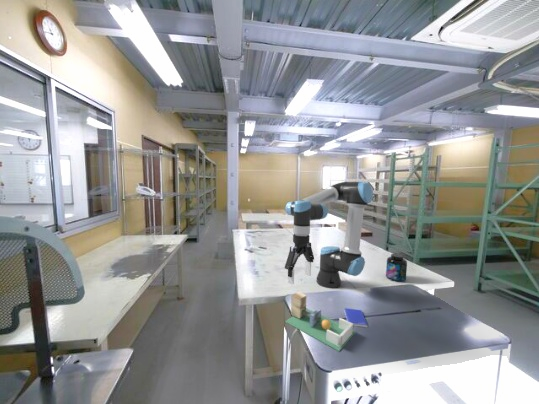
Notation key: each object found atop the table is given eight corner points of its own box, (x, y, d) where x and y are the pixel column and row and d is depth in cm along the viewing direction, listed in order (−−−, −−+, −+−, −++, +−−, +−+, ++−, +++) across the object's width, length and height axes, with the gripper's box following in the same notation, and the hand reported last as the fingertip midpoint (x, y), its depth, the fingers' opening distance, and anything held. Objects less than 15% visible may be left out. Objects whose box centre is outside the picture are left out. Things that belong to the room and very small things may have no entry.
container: (386, 280, 152) (388, 255, 151) (384, 274, 163) (386, 251, 163) (407, 284, 147) (409, 258, 147) (404, 277, 159) (405, 254, 158)
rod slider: (298, 309, 113) (299, 290, 112) (320, 320, 105) (321, 300, 104) (289, 315, 108) (290, 295, 107) (312, 327, 100) (313, 306, 99)
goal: (339, 326, 101) (340, 317, 101) (353, 332, 97) (353, 323, 97) (326, 339, 92) (326, 330, 92) (340, 347, 88) (340, 337, 88)
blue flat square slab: (367, 325, 102) (361, 310, 114) (348, 322, 103) (344, 308, 115) (367, 328, 102) (361, 313, 114) (348, 326, 103) (344, 311, 115)
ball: (324, 325, 102) (324, 316, 102) (332, 329, 99) (332, 320, 99) (319, 329, 99) (319, 320, 99) (327, 333, 96) (328, 324, 96)
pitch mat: (305, 308, 116) (305, 307, 116) (356, 332, 98) (356, 331, 98) (285, 322, 104) (285, 321, 104) (338, 351, 87) (339, 350, 86)
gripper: (309, 229, 117) (307, 269, 119) (277, 237, 99) (276, 284, 101) (322, 231, 112) (320, 273, 114) (291, 240, 94) (289, 290, 96)
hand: (299, 279), depth 107 cm, fingers open, 13 cm apart
